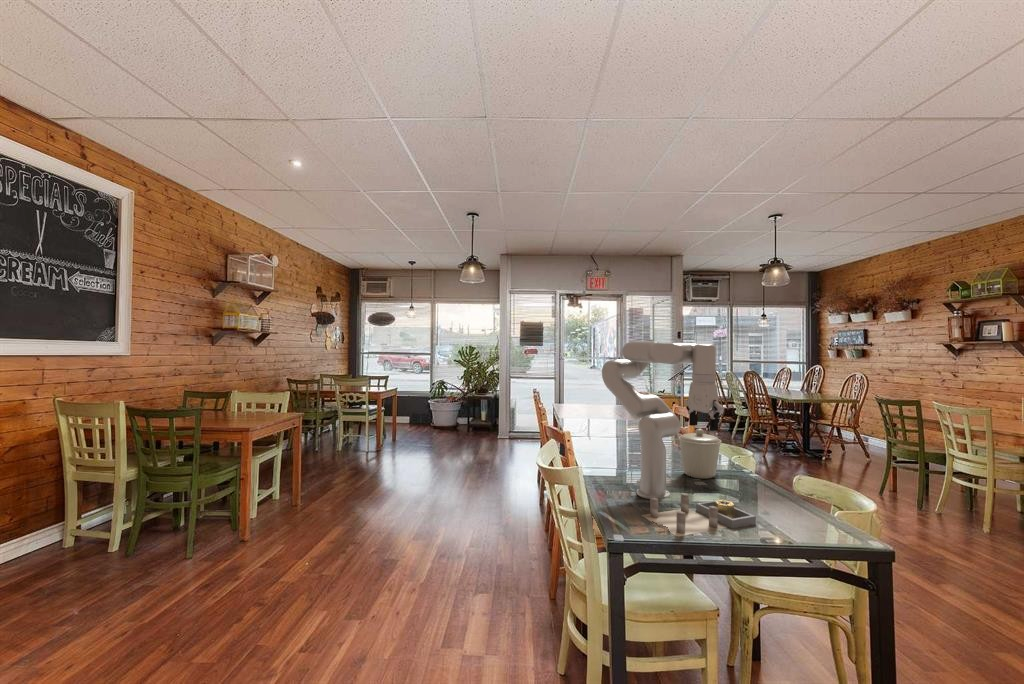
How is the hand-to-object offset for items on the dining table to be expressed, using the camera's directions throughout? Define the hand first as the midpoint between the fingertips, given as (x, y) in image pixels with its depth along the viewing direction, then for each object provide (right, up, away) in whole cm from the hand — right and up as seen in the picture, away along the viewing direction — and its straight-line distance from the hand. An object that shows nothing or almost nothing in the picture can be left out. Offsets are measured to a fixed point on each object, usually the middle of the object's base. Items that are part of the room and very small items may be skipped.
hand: (703, 427), depth 162 cm
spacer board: (-10, -30, -9) cm, 33 cm away
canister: (+17, -30, +45) cm, 57 cm away
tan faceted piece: (+5, -30, -5) cm, 30 cm away
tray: (+5, -30, -5) cm, 31 cm away
